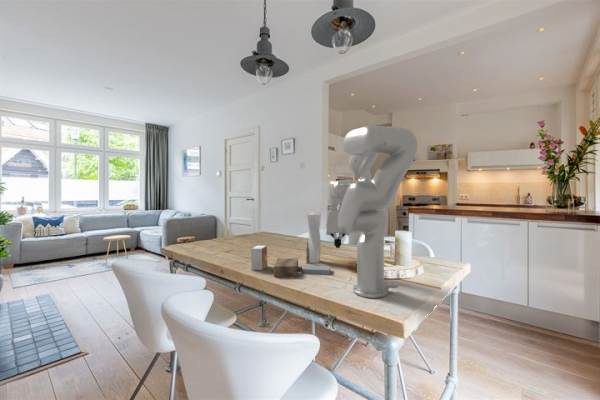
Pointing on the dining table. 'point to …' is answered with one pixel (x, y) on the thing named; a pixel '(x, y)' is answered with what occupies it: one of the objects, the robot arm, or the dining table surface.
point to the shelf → (287, 268)
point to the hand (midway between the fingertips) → (337, 247)
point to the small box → (258, 257)
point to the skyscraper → (313, 238)
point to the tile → (316, 270)
